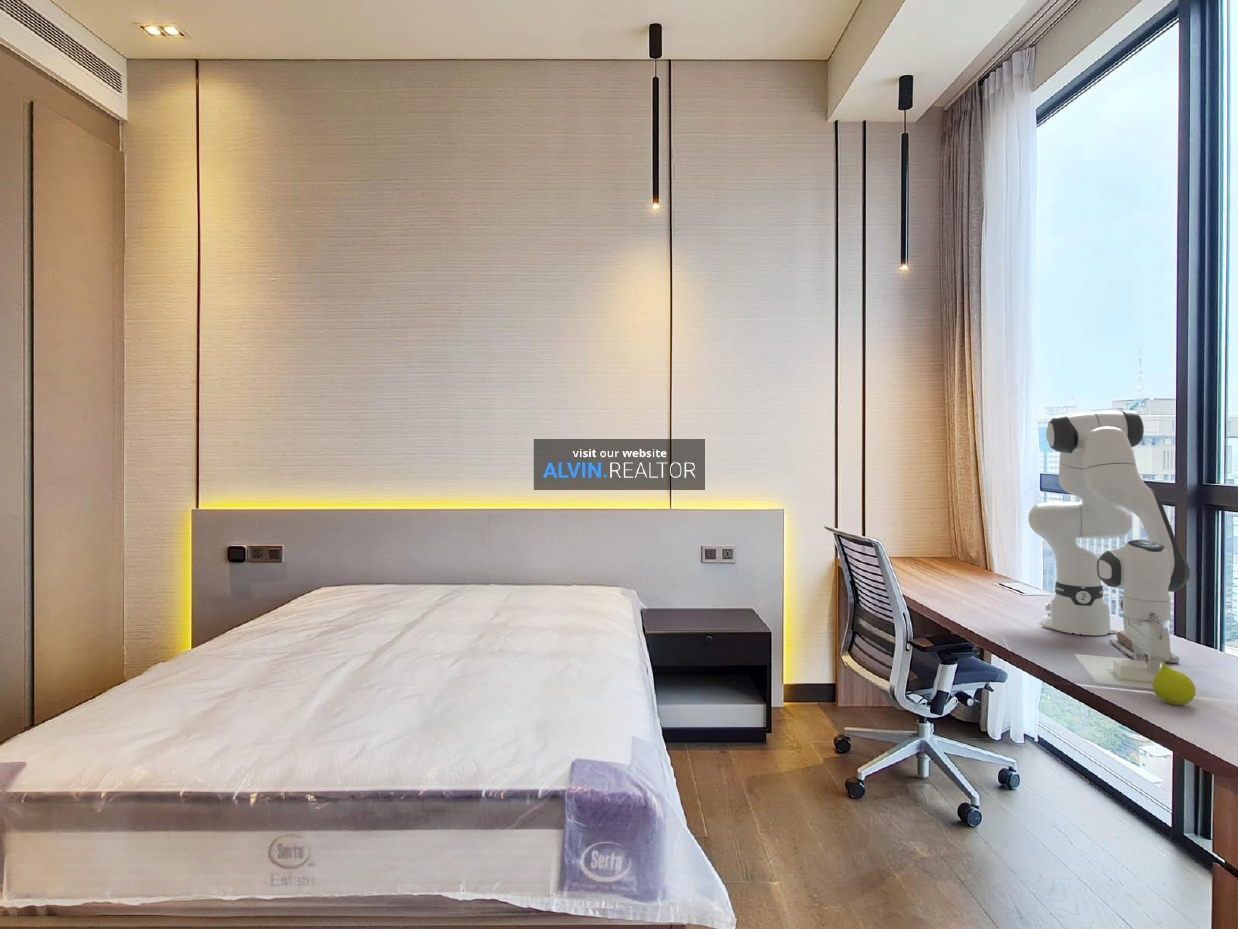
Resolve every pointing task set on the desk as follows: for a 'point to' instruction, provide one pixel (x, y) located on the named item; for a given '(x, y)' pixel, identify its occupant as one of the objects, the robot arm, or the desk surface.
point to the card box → (1133, 670)
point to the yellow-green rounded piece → (1173, 686)
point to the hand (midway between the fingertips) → (1146, 667)
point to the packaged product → (1127, 647)
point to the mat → (1108, 671)
